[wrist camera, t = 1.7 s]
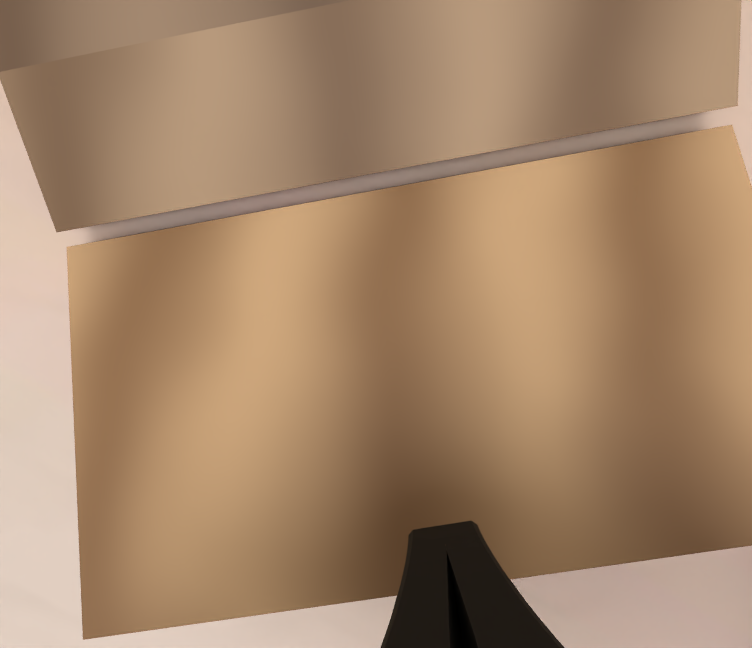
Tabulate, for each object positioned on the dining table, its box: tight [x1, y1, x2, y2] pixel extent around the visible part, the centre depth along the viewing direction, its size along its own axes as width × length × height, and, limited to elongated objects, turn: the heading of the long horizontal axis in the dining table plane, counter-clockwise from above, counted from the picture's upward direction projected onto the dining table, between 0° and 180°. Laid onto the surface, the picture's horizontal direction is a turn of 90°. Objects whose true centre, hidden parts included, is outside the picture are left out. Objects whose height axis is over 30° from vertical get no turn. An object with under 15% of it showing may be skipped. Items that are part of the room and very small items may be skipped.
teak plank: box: [67, 125, 752, 640], centre depth 14 cm, size 18×10×2 cm, turn 100°
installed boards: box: [0, 0, 741, 232], centre depth 13 cm, size 18×8×2 cm, turn 100°
